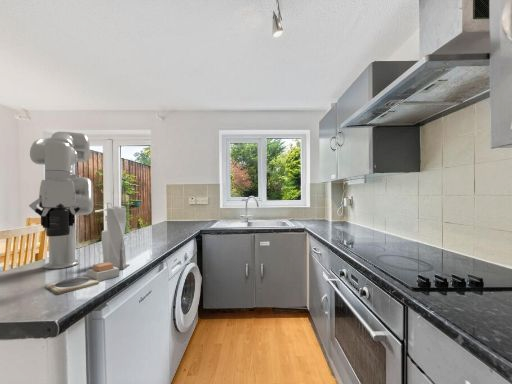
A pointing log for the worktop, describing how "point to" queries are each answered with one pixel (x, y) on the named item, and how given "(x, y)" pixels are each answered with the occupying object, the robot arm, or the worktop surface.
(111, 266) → the button
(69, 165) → the robot arm
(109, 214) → the skyscraper
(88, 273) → the button housing
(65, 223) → the supplement bottle
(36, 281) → the worktop surface
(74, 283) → the cream square coaster
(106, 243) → the drinking glass
